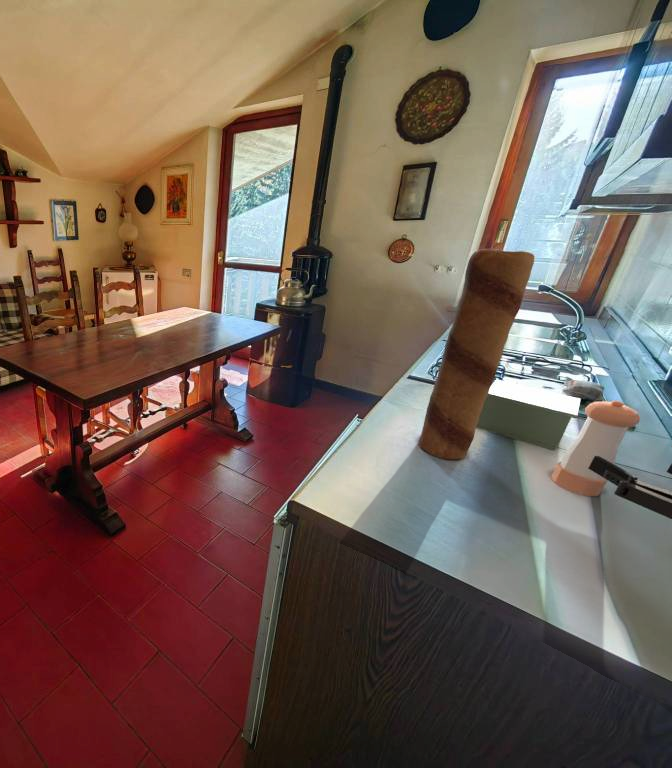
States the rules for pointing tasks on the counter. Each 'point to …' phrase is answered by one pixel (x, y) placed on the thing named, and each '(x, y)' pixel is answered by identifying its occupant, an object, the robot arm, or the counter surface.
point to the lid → (535, 398)
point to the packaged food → (584, 390)
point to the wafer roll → (474, 349)
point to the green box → (523, 422)
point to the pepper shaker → (594, 446)
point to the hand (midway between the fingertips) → (632, 463)
